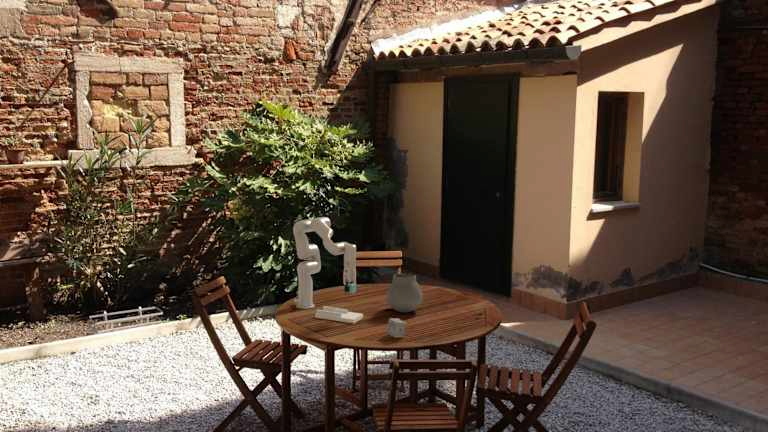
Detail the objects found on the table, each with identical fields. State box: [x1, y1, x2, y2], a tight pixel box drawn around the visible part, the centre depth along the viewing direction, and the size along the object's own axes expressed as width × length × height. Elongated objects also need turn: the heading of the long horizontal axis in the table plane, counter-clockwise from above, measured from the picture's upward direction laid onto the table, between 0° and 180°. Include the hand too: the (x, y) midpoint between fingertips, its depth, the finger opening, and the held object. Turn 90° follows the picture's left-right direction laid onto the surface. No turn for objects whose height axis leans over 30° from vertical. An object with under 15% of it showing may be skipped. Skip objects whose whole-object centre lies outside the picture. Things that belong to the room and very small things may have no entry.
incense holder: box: [386, 317, 408, 339], centre depth 426 cm, size 10×8×10 cm
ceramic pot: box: [385, 273, 423, 313], centre depth 478 cm, size 24×24×25 cm
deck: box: [314, 305, 364, 324], centre depth 461 cm, size 28×14×4 cm, turn 67°
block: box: [346, 283, 357, 294], centre depth 456 cm, size 5×5×5 cm
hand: (348, 290), depth 457 cm, fingers closed on block, 5 cm apart
